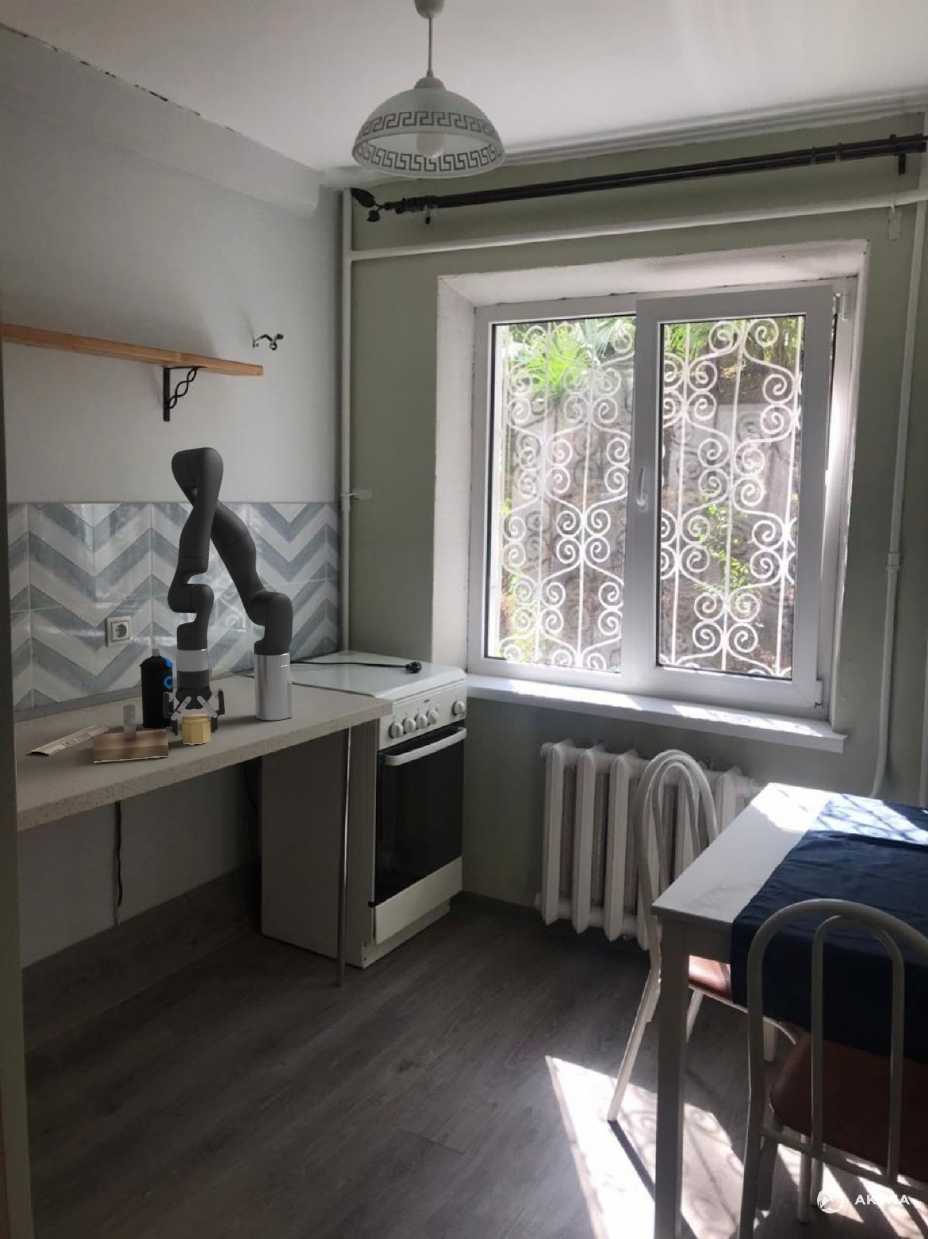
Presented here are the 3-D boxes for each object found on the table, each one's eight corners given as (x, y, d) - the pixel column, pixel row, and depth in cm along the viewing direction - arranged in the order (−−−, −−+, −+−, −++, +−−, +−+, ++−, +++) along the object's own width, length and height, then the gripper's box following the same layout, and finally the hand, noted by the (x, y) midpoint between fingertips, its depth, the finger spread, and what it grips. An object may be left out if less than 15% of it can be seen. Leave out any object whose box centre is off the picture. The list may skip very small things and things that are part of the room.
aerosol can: (141, 730, 249) (137, 651, 246) (142, 722, 257) (139, 645, 254) (175, 728, 251) (172, 650, 249) (175, 720, 259) (172, 644, 256)
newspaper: (88, 731, 250) (87, 724, 250) (113, 733, 249) (112, 726, 248) (26, 757, 228) (25, 750, 227) (53, 759, 226) (52, 752, 226)
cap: (209, 737, 243) (208, 713, 242) (211, 743, 237) (210, 719, 236) (181, 739, 241) (181, 714, 240) (183, 746, 235) (182, 721, 234)
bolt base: (165, 741, 239) (164, 696, 237) (168, 757, 226) (166, 710, 224) (94, 747, 234) (92, 701, 232) (93, 763, 220) (90, 715, 219)
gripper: (222, 662, 242) (223, 727, 245) (161, 665, 238) (163, 731, 240) (224, 668, 235) (226, 735, 237) (162, 671, 231) (164, 739, 233)
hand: (194, 733), depth 239 cm, fingers open, 8 cm apart
